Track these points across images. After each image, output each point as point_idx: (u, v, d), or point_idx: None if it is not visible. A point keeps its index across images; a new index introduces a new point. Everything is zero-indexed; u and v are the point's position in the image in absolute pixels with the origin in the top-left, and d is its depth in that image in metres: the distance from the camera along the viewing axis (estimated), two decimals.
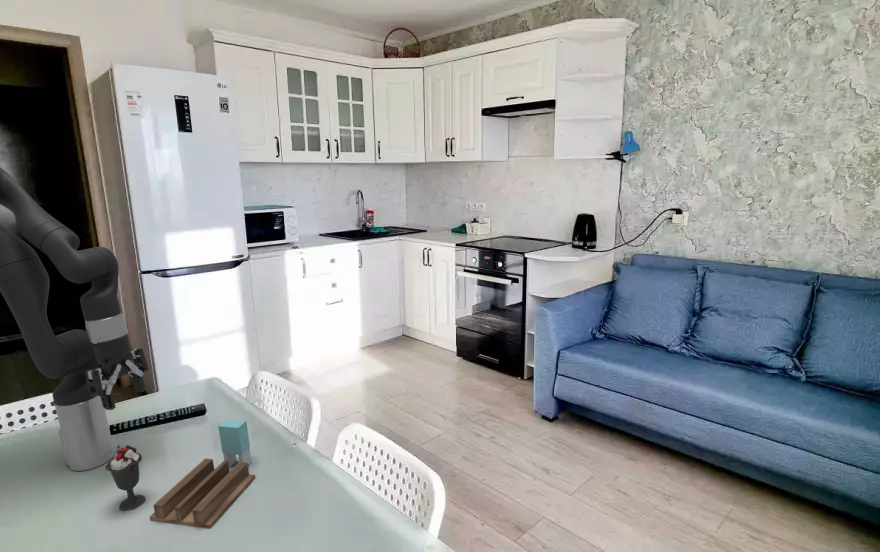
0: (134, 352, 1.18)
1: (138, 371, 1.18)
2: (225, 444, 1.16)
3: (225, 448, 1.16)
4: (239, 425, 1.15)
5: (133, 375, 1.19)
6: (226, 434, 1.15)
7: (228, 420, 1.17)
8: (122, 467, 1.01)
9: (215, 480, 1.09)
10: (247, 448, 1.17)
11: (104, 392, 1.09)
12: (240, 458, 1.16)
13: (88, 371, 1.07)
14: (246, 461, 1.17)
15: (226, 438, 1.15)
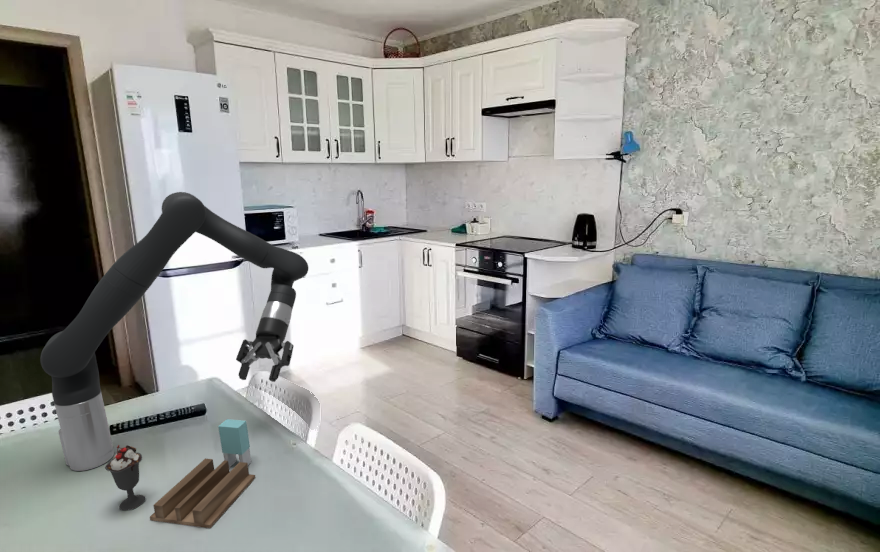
0: None
1: None
2: (225, 444, 1.16)
3: (224, 448, 1.16)
4: (239, 425, 1.15)
5: (246, 362, 1.27)
6: (226, 434, 1.15)
7: (228, 420, 1.17)
8: (122, 467, 1.01)
9: (215, 480, 1.09)
10: (247, 448, 1.17)
11: None
12: (240, 458, 1.16)
13: None
14: (246, 461, 1.17)
15: (226, 438, 1.15)
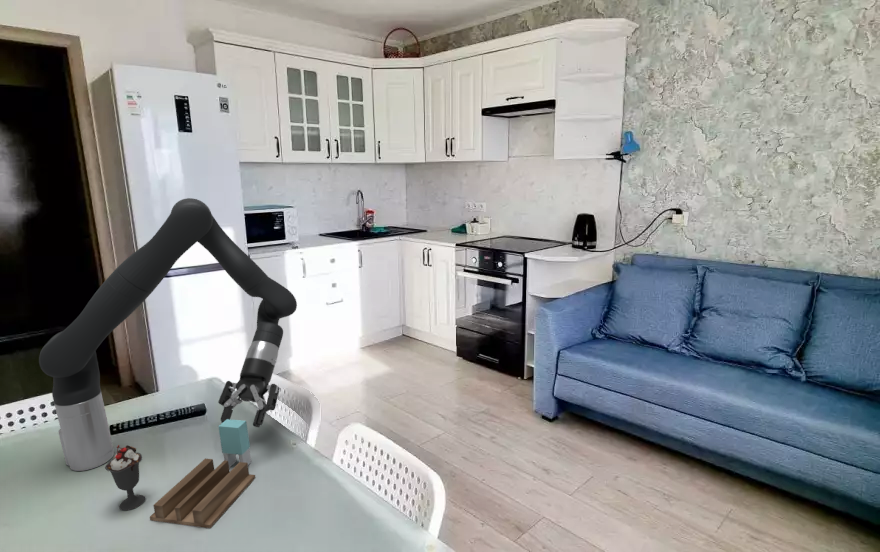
0: None
1: None
2: (225, 444, 1.16)
3: (225, 448, 1.16)
4: (239, 425, 1.15)
5: (229, 405, 1.21)
6: (226, 434, 1.15)
7: (228, 420, 1.17)
8: (122, 467, 1.01)
9: (215, 480, 1.09)
10: (247, 448, 1.17)
11: None
12: (240, 458, 1.16)
13: (276, 385, 1.22)
14: (246, 461, 1.17)
15: (226, 438, 1.15)
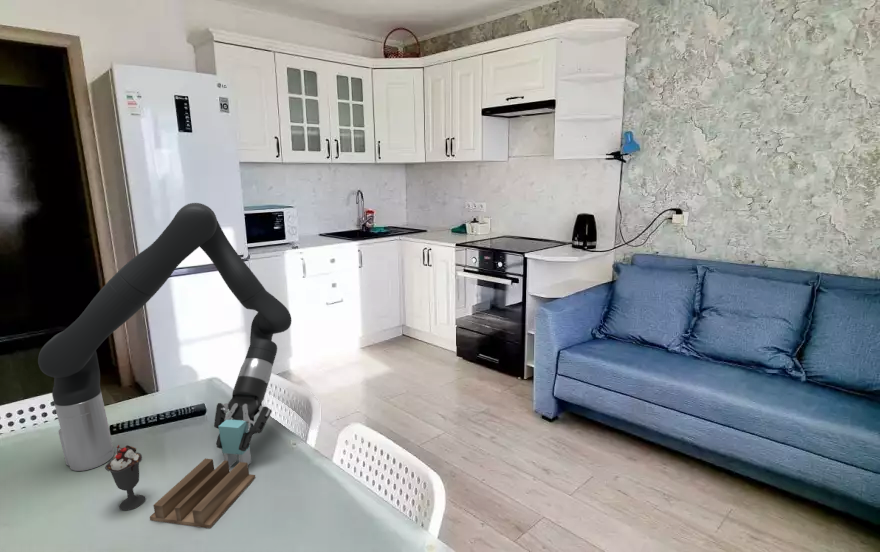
0: None
1: None
2: (225, 444, 1.16)
3: (225, 448, 1.16)
4: (239, 425, 1.15)
5: None
6: (226, 434, 1.15)
7: (228, 420, 1.17)
8: (122, 467, 1.01)
9: (215, 480, 1.09)
10: None
11: None
12: (240, 458, 1.16)
13: (268, 408, 1.19)
14: (246, 461, 1.17)
15: (226, 438, 1.15)
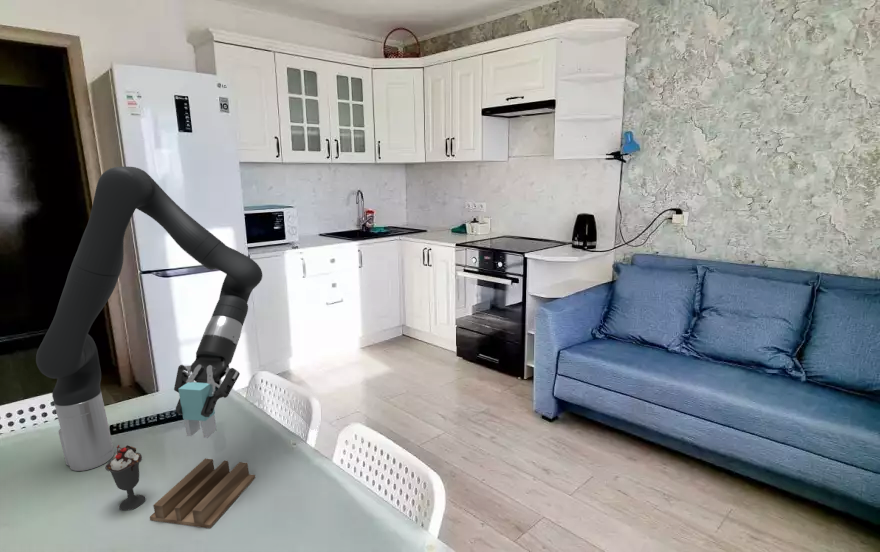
0: None
1: None
2: (186, 409, 1.03)
3: (186, 414, 1.03)
4: (202, 388, 1.02)
5: None
6: (187, 397, 1.02)
7: (190, 383, 1.04)
8: (122, 467, 1.01)
9: (215, 480, 1.09)
10: (211, 414, 1.05)
11: None
12: (203, 425, 1.03)
13: (235, 370, 1.06)
14: (210, 429, 1.04)
15: (187, 403, 1.02)
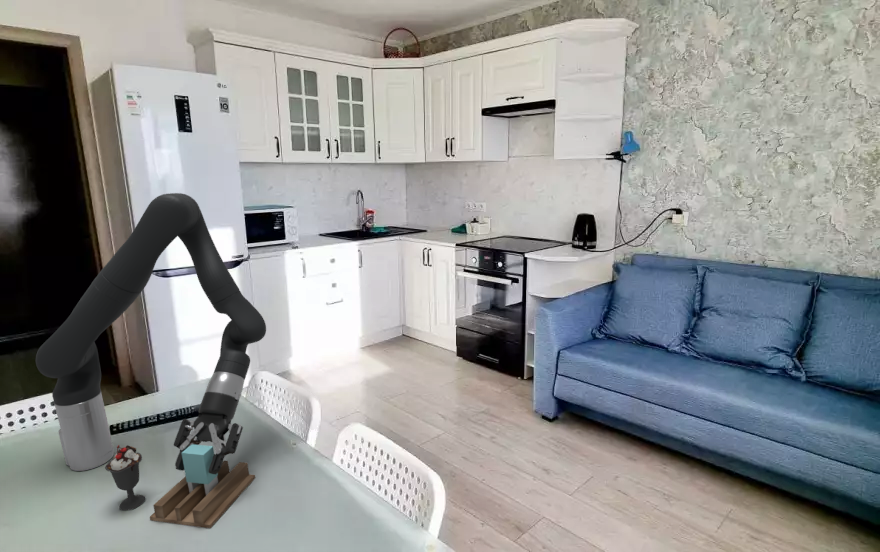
0: None
1: None
2: (189, 472, 1.04)
3: (189, 477, 1.04)
4: (204, 452, 1.03)
5: (186, 448, 1.06)
6: (190, 461, 1.03)
7: (193, 445, 1.06)
8: (122, 467, 1.01)
9: None
10: (214, 476, 1.06)
11: None
12: (206, 488, 1.04)
13: (238, 424, 1.07)
14: None
15: (190, 466, 1.04)
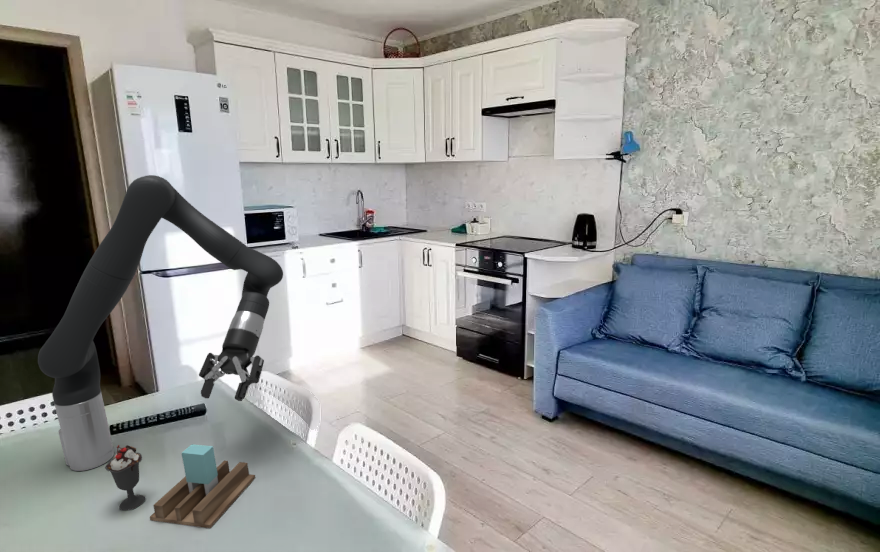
0: None
1: None
2: (189, 472, 1.04)
3: (189, 477, 1.04)
4: (204, 452, 1.03)
5: (210, 378, 1.14)
6: (190, 461, 1.03)
7: (193, 445, 1.06)
8: (122, 467, 1.01)
9: None
10: (214, 476, 1.06)
11: None
12: (206, 488, 1.04)
13: (260, 357, 1.15)
14: None
15: (190, 466, 1.04)
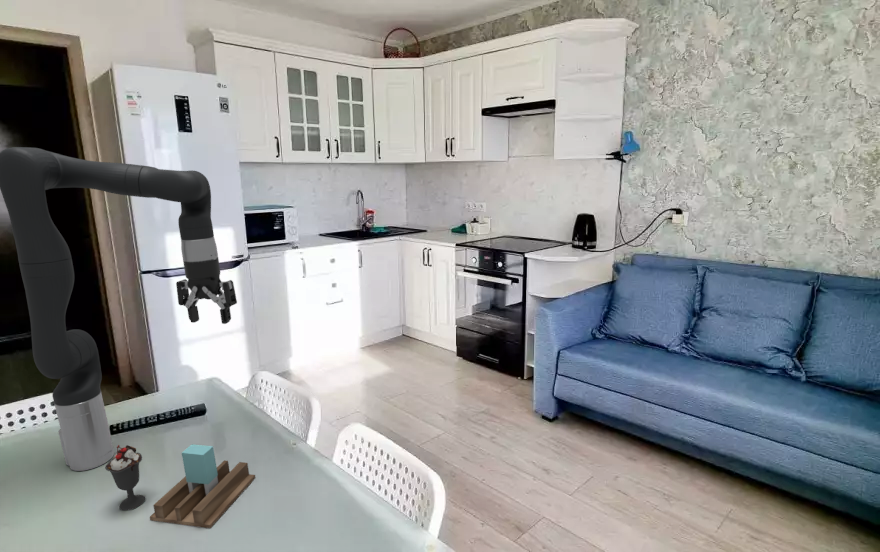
0: None
1: None
2: (189, 472, 1.04)
3: (189, 477, 1.04)
4: (204, 452, 1.03)
5: (191, 305, 1.19)
6: (190, 461, 1.03)
7: (193, 445, 1.06)
8: (122, 467, 1.01)
9: None
10: (214, 476, 1.06)
11: None
12: (206, 488, 1.04)
13: (227, 282, 1.16)
14: None
15: (190, 466, 1.04)
